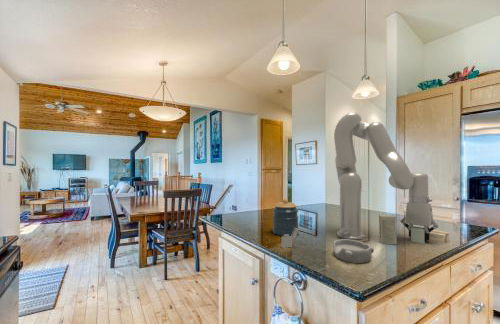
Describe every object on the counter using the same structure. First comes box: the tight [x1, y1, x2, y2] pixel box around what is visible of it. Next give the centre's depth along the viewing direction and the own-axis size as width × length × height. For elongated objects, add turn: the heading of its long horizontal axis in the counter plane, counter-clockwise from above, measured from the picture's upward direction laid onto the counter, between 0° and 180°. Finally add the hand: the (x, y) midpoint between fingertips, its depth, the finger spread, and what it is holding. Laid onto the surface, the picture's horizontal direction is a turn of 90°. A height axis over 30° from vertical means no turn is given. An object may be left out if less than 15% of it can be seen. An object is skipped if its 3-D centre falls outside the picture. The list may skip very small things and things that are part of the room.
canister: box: [272, 198, 299, 237], centre depth 127 cm, size 13×13×18 cm
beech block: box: [427, 229, 450, 245], centre depth 116 cm, size 8×8×4 cm
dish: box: [332, 238, 375, 264], centre depth 94 cm, size 14×14×5 cm
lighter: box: [280, 228, 300, 249], centre depth 105 cm, size 7×2×8 cm, turn 99°
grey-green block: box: [410, 225, 426, 244], centre depth 115 cm, size 5×5×6 cm
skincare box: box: [378, 214, 397, 245], centre depth 112 cm, size 6×4×12 cm
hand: (418, 239), depth 115 cm, fingers closed on grey-green block, 5 cm apart
